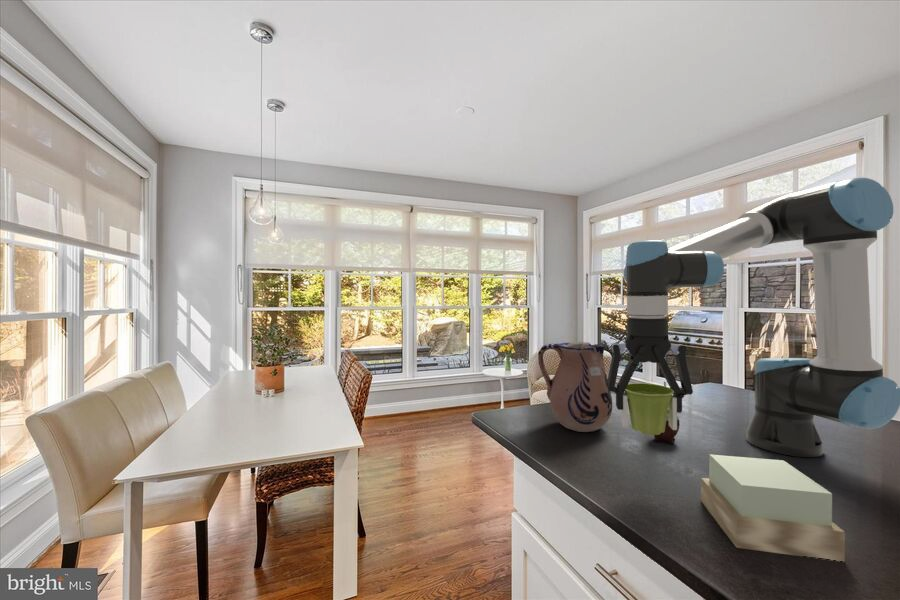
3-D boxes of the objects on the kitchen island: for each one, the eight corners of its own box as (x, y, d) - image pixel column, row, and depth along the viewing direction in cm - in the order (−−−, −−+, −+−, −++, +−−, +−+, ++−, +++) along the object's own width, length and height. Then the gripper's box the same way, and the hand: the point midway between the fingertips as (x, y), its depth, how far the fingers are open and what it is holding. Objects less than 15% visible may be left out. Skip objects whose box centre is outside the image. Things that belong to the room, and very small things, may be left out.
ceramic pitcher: (619, 440, 105) (619, 348, 104) (540, 435, 108) (540, 347, 108) (604, 419, 122) (605, 341, 122) (536, 416, 126) (537, 340, 125)
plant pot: (681, 440, 74) (681, 395, 74) (629, 437, 76) (628, 393, 75) (664, 423, 83) (664, 383, 83) (618, 421, 85) (618, 382, 85)
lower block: (786, 513, 71) (786, 486, 71) (844, 565, 57) (844, 532, 57) (701, 503, 74) (701, 477, 74) (736, 550, 60) (736, 519, 60)
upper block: (783, 487, 70) (783, 460, 70) (831, 526, 58) (832, 493, 58) (709, 480, 73) (709, 454, 73) (741, 516, 61) (741, 485, 61)
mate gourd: (662, 446, 100) (663, 389, 100) (641, 436, 108) (642, 382, 108) (687, 444, 102) (687, 388, 101) (664, 433, 109) (665, 381, 109)
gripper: (698, 315, 80) (699, 423, 80) (590, 315, 85) (591, 417, 85) (713, 317, 73) (714, 436, 73) (594, 318, 78) (596, 429, 78)
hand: (648, 426), depth 79 cm, fingers closed on plant pot, 8 cm apart
